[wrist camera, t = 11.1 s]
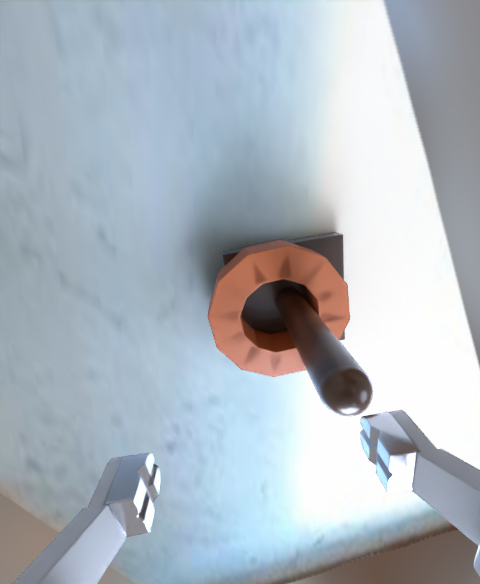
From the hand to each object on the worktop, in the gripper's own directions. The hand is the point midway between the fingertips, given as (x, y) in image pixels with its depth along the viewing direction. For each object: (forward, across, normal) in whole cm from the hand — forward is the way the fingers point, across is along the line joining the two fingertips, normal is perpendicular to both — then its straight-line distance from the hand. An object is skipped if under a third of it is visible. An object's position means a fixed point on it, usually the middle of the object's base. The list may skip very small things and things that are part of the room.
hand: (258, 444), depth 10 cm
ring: (+13, -3, 0) cm, 14 cm away
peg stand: (+15, -4, 0) cm, 15 cm away
